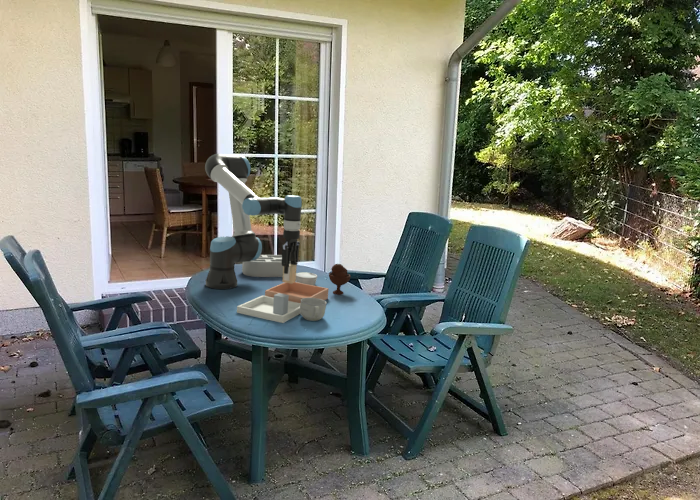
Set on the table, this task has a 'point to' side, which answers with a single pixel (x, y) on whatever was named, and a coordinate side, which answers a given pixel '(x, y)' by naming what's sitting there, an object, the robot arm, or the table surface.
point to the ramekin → (306, 278)
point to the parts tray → (268, 309)
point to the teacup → (312, 308)
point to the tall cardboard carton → (291, 274)
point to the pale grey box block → (280, 304)
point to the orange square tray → (298, 291)
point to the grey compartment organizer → (264, 266)
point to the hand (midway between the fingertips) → (289, 279)
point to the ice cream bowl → (339, 277)
